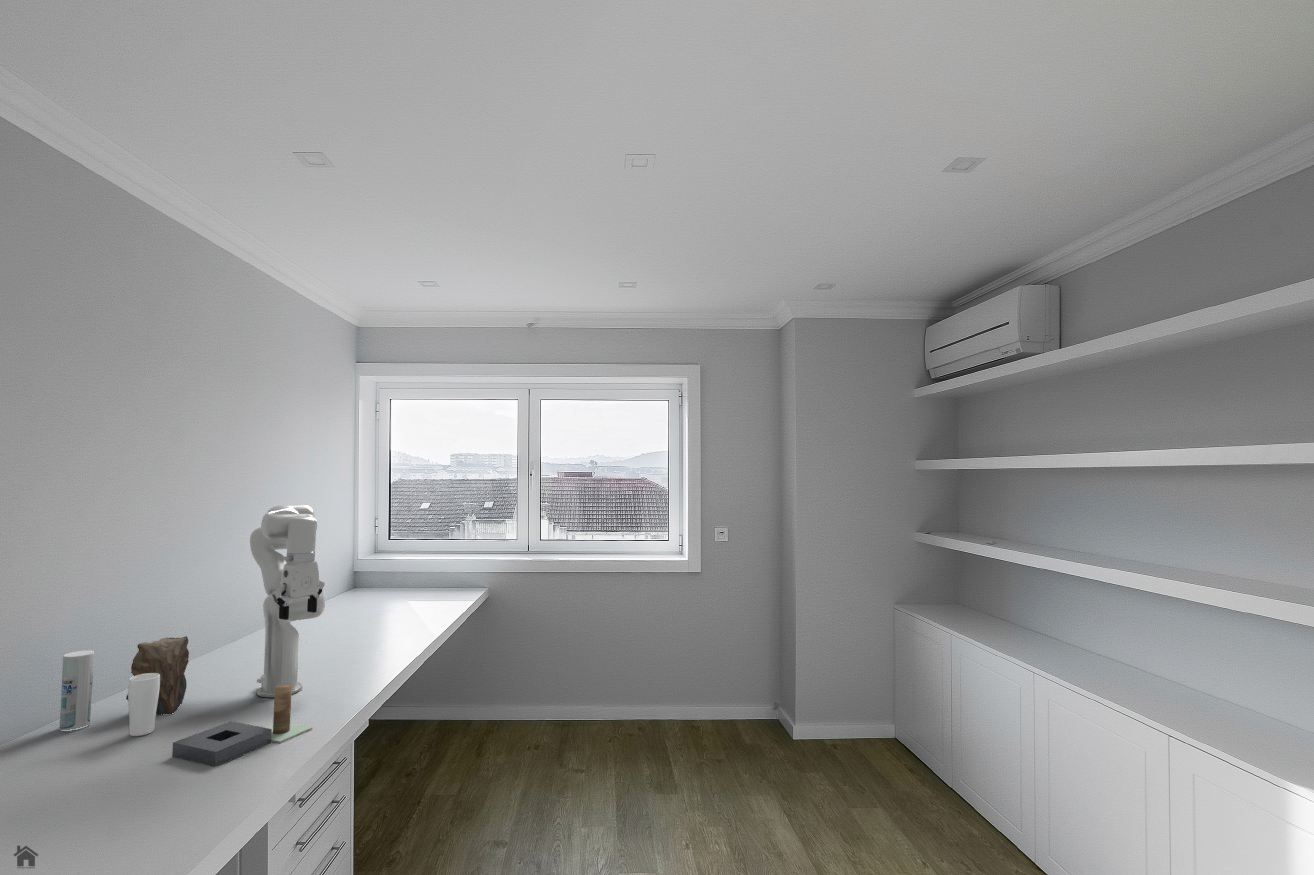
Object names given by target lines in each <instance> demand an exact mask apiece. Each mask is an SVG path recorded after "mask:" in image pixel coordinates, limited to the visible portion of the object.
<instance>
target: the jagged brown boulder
mask: <svg viewBox="0 0 1314 875" xmlns="http://www.w3.org/2000/svg"><path fill="white" fill-rule="evenodd" d="M188 644H189V638H188V636H187V635H185V636H183V637H182V636H181V637H171V636H170V637H163V638H160V639H159V640H155V641H150V642H142V643H138V644H137V649H138V651H137V653H136V654H135V656H134V657H133V659H132V663H131V667H130V669H131V672H130V673H131V674H132V675H133V676H136V675H140V674H146V673H158V674H160V690H159V697H158V704H157V710H156V714H157V715H156V716H164V715H163V714H171V715H173V714H172V713H174V712H175V713H176V711H177V710H178V709H179V708H180V707H181V705H182V704H183V700H184V698H185V695H186V691H187V687H188V686H187V684H188V683H187V678H186V675H185V672H186V669H187V666H188V665H189V662H190V660H189V656H190V651H189V650H188ZM125 700H127V701H128V693H127V694H126V698H125ZM180 704H181V705H180ZM179 706H180V707H179ZM178 707H179V708H178ZM175 713H174V714H175ZM161 714H162V715H161Z"/></svg>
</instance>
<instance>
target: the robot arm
mask: <svg viewBox="0 0 1314 875" xmlns="http://www.w3.org/2000/svg"><path fill="white" fill-rule="evenodd" d="M260 525H261V526H260V527H258V528H256V529H254V530H253V531H252V532H251V534H250V538H249V547H250V552H251V555H252V557H253V559H254V561H255V562H256V564H257V566H258V567H259V568H260V570H261V576H262V582H263V587H264V590H265V594H266V595H267V597H266V598H265V599H264V601H263V605H262V607H263V617H264V626H265V627H264V631H265V634H264V635H265V637H264V657H263V658H264V663H263V674H262V675H261V676H260V678H259V677H258V678H257V679H256V683H258V684H260V685H261V686H260V688H258V689H257V692H256V693H257V696H259V697H262V698H274V695H275V686H277V685H281V684H291V685H292V691H291V695H293V694H296V693H299V692H300V691H302V689H303V683H301V682H299V681H298V670H299V651H300V650H299V648H300V647H299V646H300V645H299V644H300V643H299V642H300V634H299V631H298V630H297V628H296V627H294V626H293V625H292V624H291V622H296V621H301V620H308V619H309V620H310V619H315V618H318V617H320V616H321V615H322V614H323V613H324V611H325V607H326V604H325V602H326V601H325V597H324V593H323V589H324V587H325V583H326V582H324V581H321V580H320V575H319V574H320V573H319V572H320V571H319V565H318V561H317V560H316V559H315V558H316V543H317V542H316V541H317V540H316V539H317V538H316V537H317V529H318V521H317V519H316V518H315V513H314V510H313V508H312V507H311V506H310V505H306V504H281V505H276V506H272V507H271V508H269V509H268V510H267V512H266V513H265V514H264V515H263V516H262V519H261V522H260ZM278 550H279V551H281V550H286V556H285V555H283V554H282V553H281V552H279V551H278Z"/></svg>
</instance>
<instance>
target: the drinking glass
mask: <svg viewBox="0 0 1314 875" xmlns="http://www.w3.org/2000/svg"><path fill="white" fill-rule="evenodd" d="M159 690H160V674H158V673H146V674H140V675H136V676H134V675H133V676H131V677H130V678H129V679H128V685H127V694H128V700H127V703H128V720H129V724H128V726H129V728H128V729H129V731H128V734H129V735H130V736H131V737H142V736H146V735H149V734H151V733H153V732H154V730H155V726H156V725H155V722H156V716H157V715H156V710H157V704H158V697H159Z"/></svg>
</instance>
